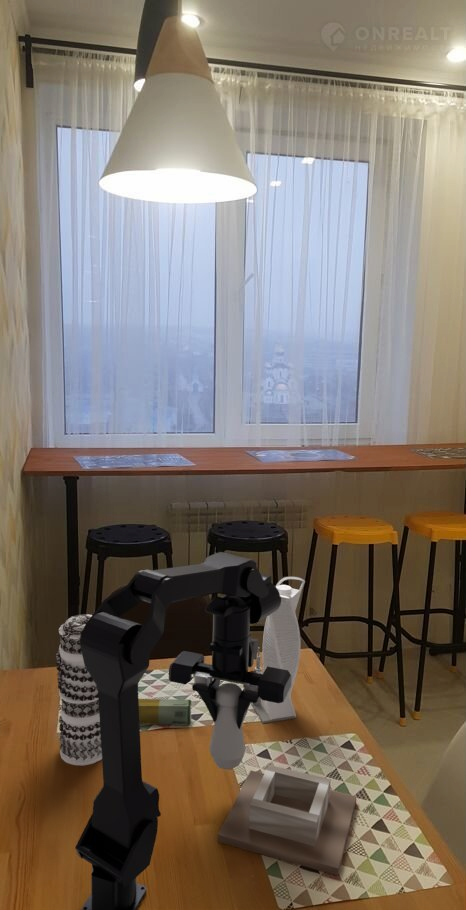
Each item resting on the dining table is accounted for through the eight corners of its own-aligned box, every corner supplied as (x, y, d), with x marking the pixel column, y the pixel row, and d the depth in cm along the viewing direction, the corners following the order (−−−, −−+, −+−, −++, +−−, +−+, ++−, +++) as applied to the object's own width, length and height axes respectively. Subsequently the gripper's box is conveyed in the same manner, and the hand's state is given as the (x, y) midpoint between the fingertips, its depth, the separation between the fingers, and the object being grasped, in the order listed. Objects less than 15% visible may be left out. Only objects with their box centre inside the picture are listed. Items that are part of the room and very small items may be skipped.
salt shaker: (241, 775, 106) (244, 699, 104) (205, 770, 107) (207, 694, 105) (247, 753, 112) (250, 680, 109) (213, 748, 113) (215, 676, 110)
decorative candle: (85, 729, 128) (83, 604, 123) (121, 747, 123) (120, 617, 118) (46, 753, 120) (43, 621, 116) (83, 773, 115) (81, 636, 111)
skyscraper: (289, 698, 141) (295, 570, 135) (305, 719, 133) (312, 584, 128) (251, 704, 138) (255, 573, 133) (264, 726, 130) (270, 588, 125)
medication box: (191, 717, 133) (192, 698, 132) (190, 725, 130) (191, 706, 130) (130, 716, 133) (130, 697, 132) (128, 724, 130) (128, 704, 130)
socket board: (337, 875, 95) (340, 843, 94) (217, 841, 101) (218, 810, 100) (356, 802, 110) (358, 774, 109) (250, 776, 116) (251, 749, 115)
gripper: (301, 622, 110) (296, 710, 113) (194, 605, 116) (192, 689, 118) (284, 652, 99) (280, 748, 102) (167, 631, 105) (166, 723, 108)
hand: (228, 725), depth 108 cm, fingers closed on salt shaker, 3 cm apart
